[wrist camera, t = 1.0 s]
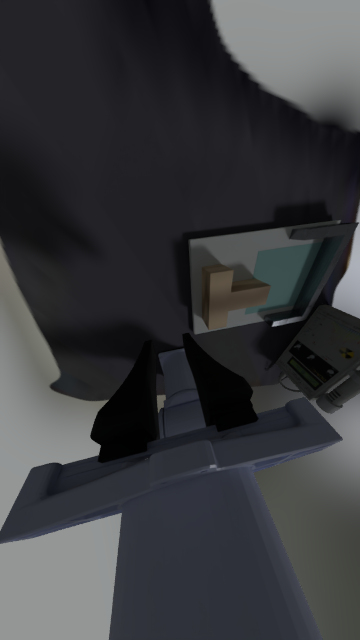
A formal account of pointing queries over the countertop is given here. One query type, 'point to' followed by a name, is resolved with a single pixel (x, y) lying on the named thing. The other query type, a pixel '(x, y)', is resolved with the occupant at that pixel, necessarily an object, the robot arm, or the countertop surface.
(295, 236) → the bracket
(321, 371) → the geiger counter
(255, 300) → the t block
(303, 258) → the mat
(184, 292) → the countertop surface
